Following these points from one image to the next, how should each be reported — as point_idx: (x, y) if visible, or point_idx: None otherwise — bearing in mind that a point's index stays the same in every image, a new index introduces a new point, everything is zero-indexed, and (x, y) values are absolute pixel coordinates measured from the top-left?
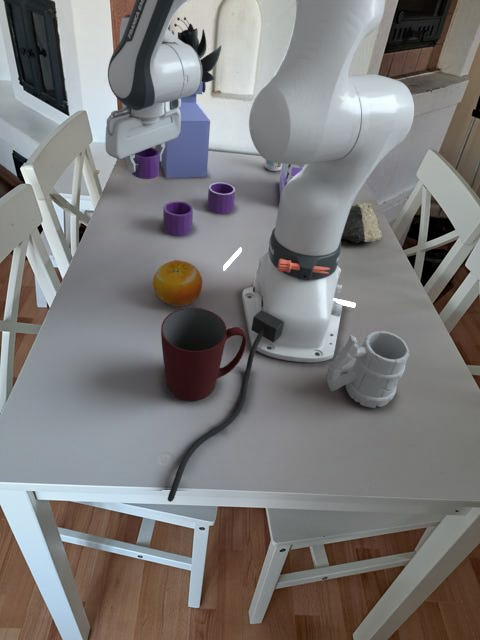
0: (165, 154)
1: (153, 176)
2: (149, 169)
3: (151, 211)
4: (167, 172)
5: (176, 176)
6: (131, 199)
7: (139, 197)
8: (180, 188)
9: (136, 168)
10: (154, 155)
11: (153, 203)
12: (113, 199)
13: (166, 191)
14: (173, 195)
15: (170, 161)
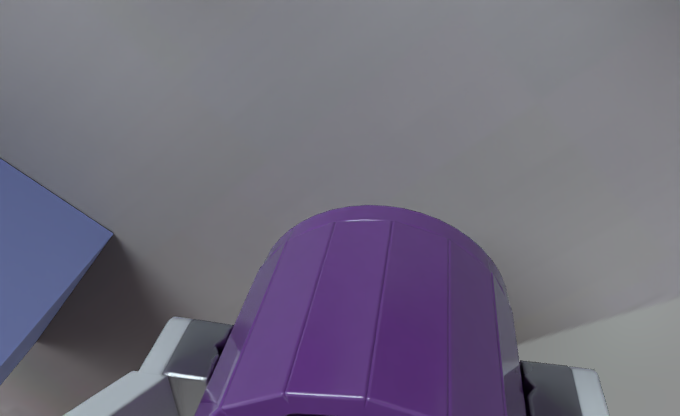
0: (13, 355)
1: (412, 221)
2: (456, 297)
3: (552, 27)
4: (88, 252)
5: (52, 200)
6: (482, 229)
7: (425, 210)
8: (119, 94)
9: (562, 389)
10: (341, 414)
11: (431, 96)
12: (551, 297)
13: (228, 136)
14: (229, 65)
15: (22, 293)
